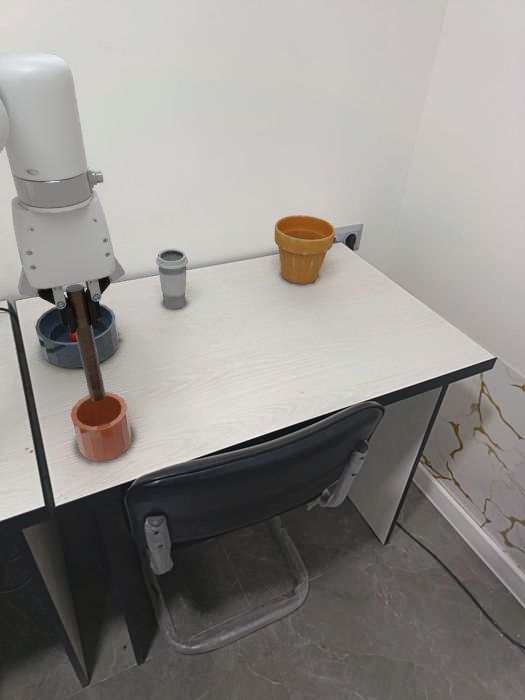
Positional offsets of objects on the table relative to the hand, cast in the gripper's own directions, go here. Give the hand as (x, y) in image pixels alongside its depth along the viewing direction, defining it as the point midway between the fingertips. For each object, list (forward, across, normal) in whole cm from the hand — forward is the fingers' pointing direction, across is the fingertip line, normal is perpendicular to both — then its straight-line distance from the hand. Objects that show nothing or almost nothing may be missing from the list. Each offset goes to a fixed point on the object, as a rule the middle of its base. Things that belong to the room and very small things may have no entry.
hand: (82, 324), depth 65 cm
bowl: (+23, -2, -26) cm, 35 cm away
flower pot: (+23, -57, -34) cm, 70 cm away
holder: (+23, 0, 0) cm, 23 cm away
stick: (+13, 0, +1) cm, 13 cm away
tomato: (+21, 0, -28) cm, 35 cm away
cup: (+23, -24, -34) cm, 47 cm away
